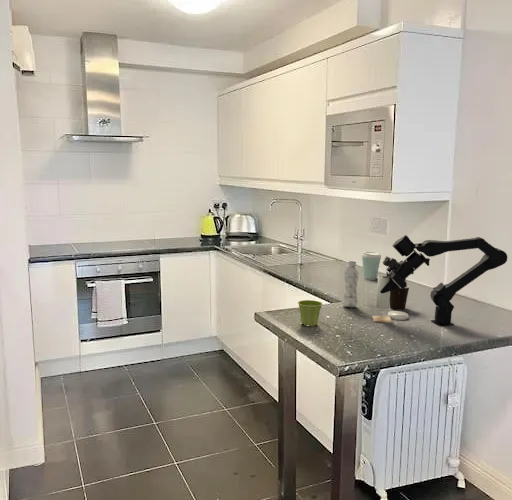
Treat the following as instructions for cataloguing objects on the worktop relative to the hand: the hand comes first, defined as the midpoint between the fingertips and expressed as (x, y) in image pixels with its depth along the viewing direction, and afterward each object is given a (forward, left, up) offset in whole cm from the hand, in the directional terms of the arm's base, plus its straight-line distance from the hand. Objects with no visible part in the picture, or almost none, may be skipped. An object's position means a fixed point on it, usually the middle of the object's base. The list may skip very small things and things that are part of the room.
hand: (380, 291), depth 206 cm
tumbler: (0, -1, -7) cm, 7 cm away
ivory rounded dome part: (+2, -10, -12) cm, 16 cm away
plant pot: (-2, +30, -12) cm, 32 cm away
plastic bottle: (+20, +4, -12) cm, 24 cm away
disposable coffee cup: (+74, -31, -12) cm, 81 cm away
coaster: (0, -1, -12) cm, 12 cm away
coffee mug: (+14, -15, -12) cm, 24 cm away
